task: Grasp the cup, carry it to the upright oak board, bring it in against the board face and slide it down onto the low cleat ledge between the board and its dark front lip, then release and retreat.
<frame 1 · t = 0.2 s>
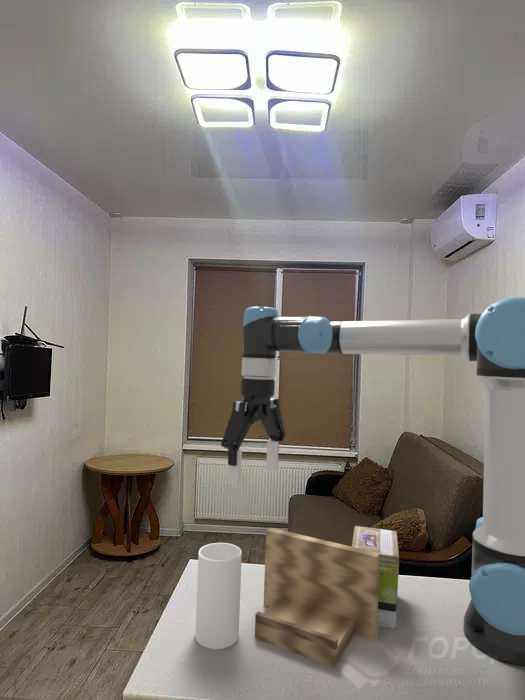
hand: (254, 474, 101), 28 cm above the table, fingers open, 13 cm apart
tea box: (372, 607, 100), on the table
cup: (217, 636, 88), on the table
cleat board: (315, 622, 93), on the table
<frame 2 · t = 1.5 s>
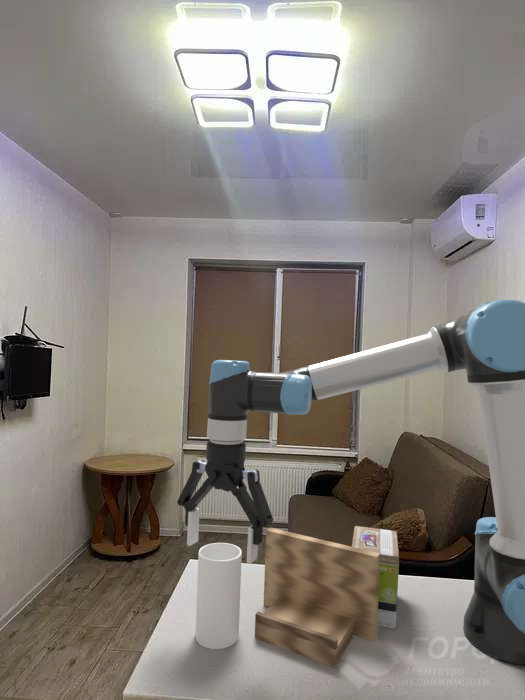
hand: (221, 551, 88), 16 cm above the table, fingers open, 13 cm apart
nothing on the table moved.
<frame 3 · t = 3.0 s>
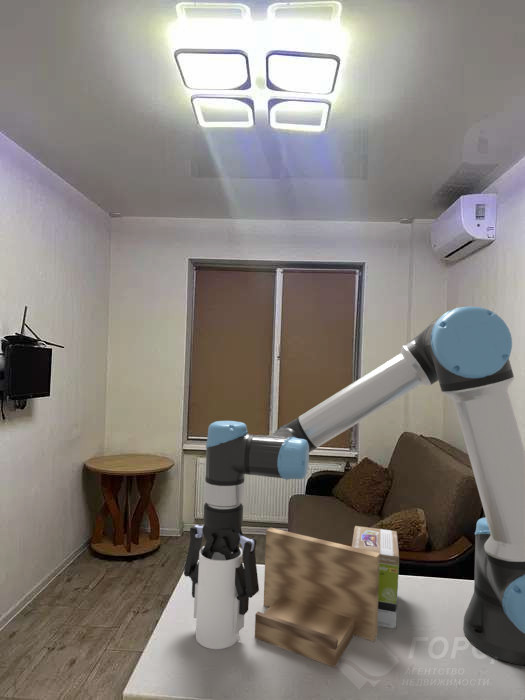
hand: (218, 621, 88), 3 cm above the table, fingers closed on cup, 8 cm apart
cup: (217, 636, 88), on the table, touching gripper
everything else where it was.
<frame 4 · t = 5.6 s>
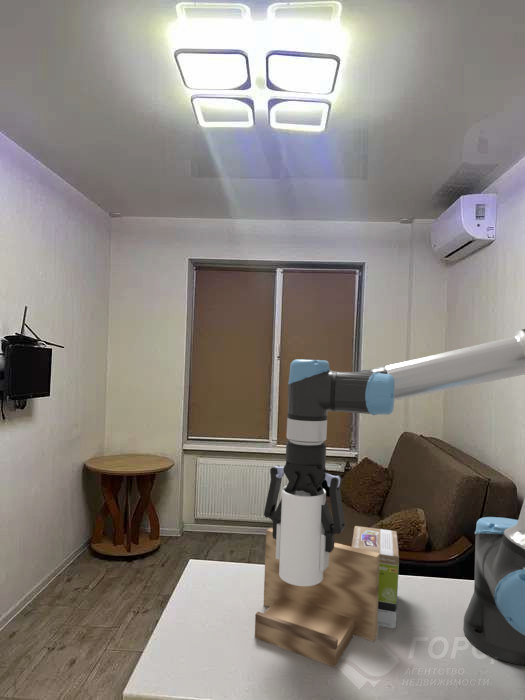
hand: (301, 561, 86), 15 cm above the table, fingers closed on cup, 8 cm apart
cup: (300, 576, 86), point 12 cm above the table, touching gripper
everything else where it was.
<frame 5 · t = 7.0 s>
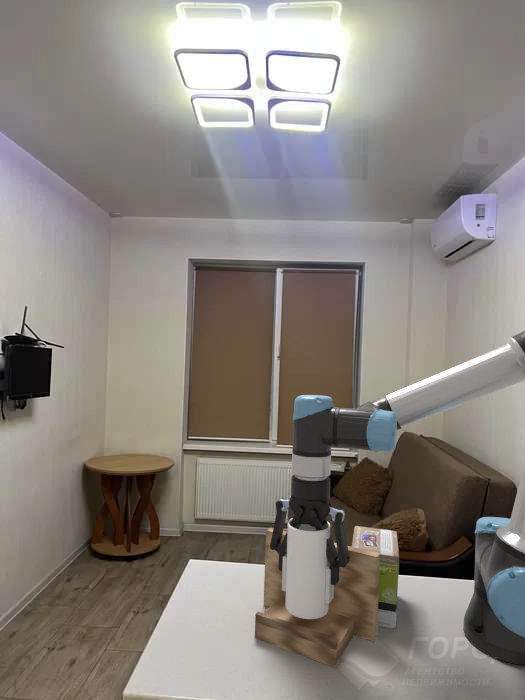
hand: (307, 593, 89), 8 cm above the table, fingers closed on cup, 8 cm apart
cup: (306, 608, 88), point 5 cm above the table, touching gripper
everything else where it was.
when the fingers open (6 cm above the table, at t = 7.9 s): cup stays where it is, resting on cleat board.
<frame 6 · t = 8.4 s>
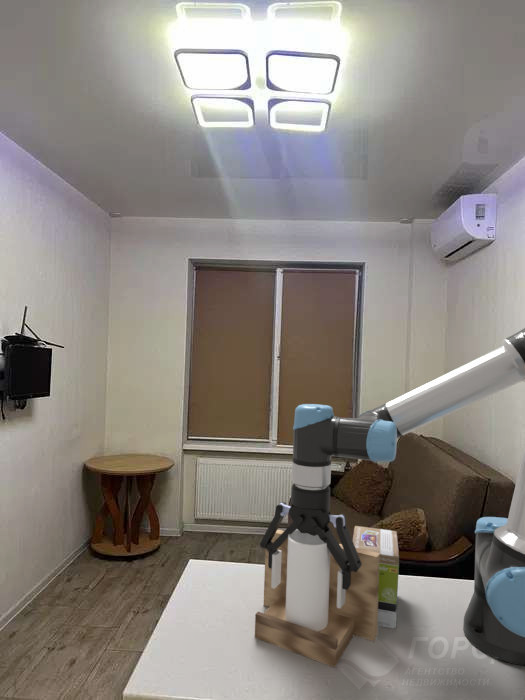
hand: (307, 594, 89), 8 cm above the table, fingers open, 13 cm apart
cup: (306, 620, 89), point 3 cm above the table, touching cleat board
everything else where it was.
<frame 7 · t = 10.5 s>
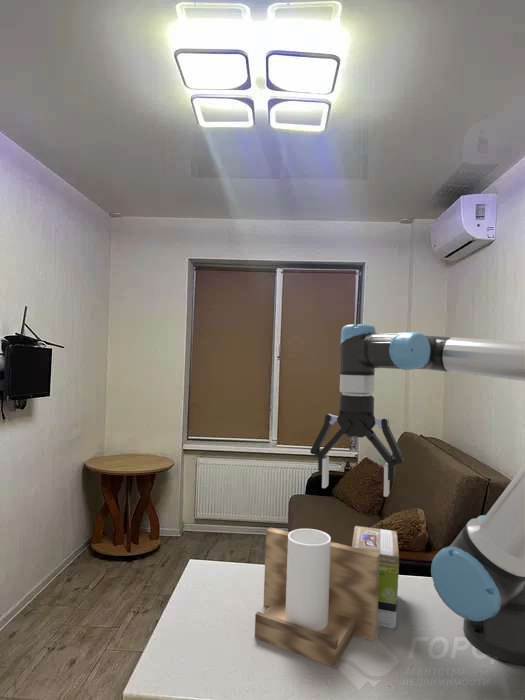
hand: (355, 490, 101), 25 cm above the table, fingers open, 13 cm apart
nothing on the table moved.
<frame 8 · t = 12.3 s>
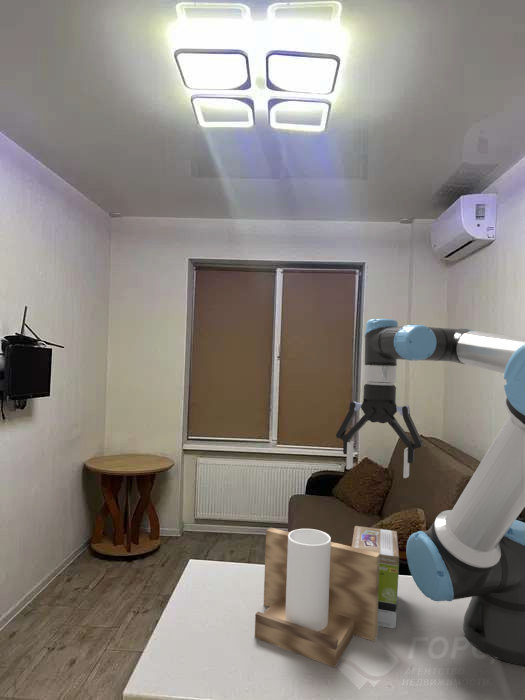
hand: (377, 472, 110), 27 cm above the table, fingers open, 13 cm apart
nothing on the table moved.
at the end: cup inside the target area on the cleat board (0.7 cm from its centre), point 2.8 cm above the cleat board's base; cup tilted 0°; the gripper is holding nothing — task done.
